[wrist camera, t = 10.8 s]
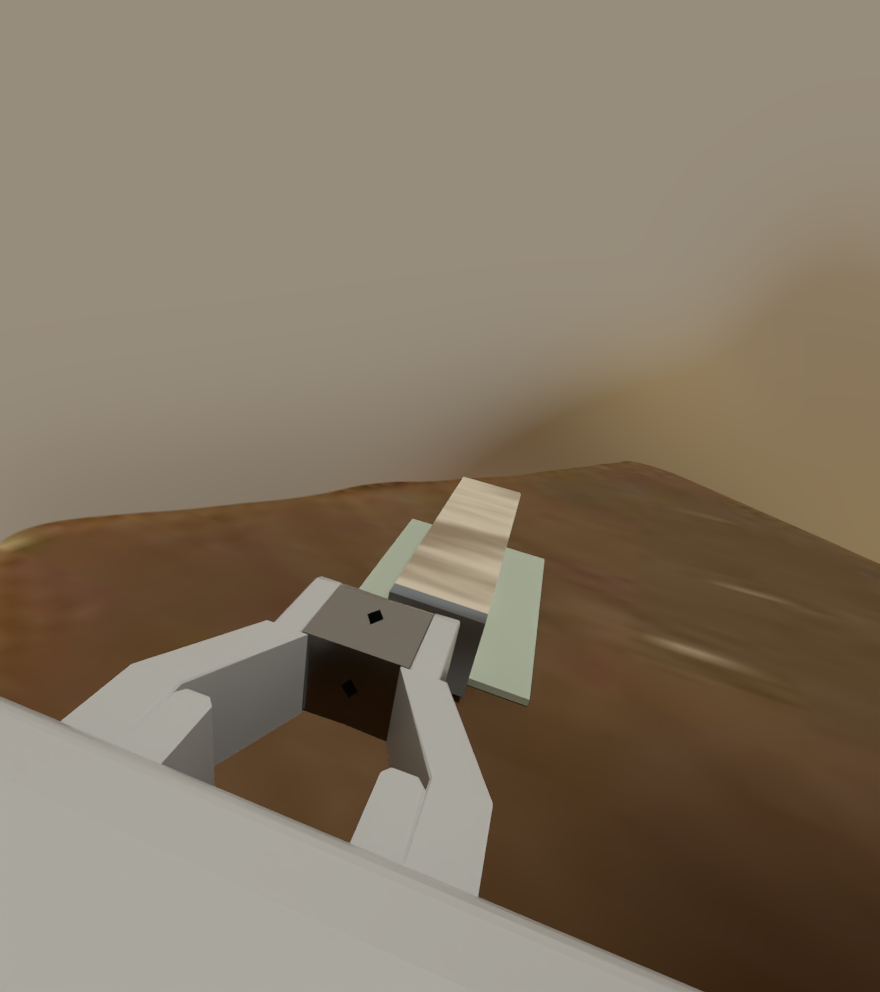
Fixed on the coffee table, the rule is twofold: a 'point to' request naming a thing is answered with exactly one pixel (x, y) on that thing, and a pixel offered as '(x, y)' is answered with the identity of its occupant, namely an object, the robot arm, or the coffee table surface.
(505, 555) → the sage mat
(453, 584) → the maple block
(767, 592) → the coffee table surface
